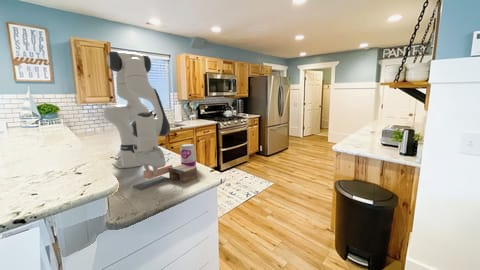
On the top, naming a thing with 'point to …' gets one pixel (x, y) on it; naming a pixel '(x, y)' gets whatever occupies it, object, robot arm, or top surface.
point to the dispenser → (183, 173)
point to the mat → (150, 182)
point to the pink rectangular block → (160, 171)
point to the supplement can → (188, 155)
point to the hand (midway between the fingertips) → (151, 173)
